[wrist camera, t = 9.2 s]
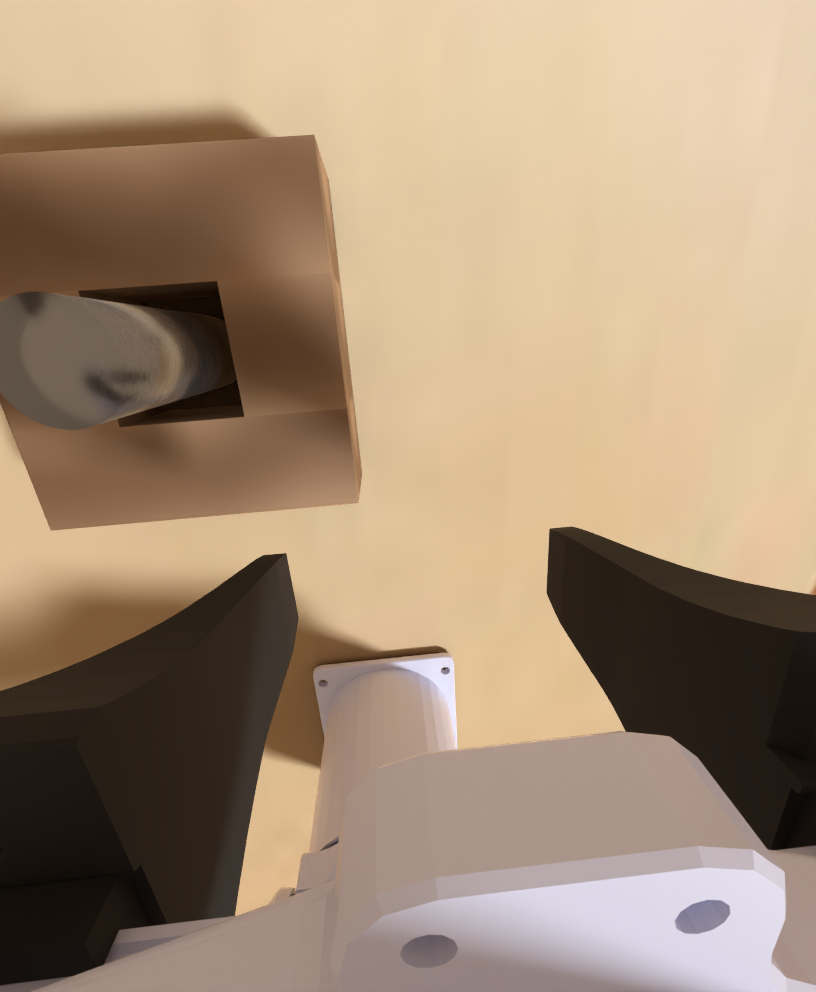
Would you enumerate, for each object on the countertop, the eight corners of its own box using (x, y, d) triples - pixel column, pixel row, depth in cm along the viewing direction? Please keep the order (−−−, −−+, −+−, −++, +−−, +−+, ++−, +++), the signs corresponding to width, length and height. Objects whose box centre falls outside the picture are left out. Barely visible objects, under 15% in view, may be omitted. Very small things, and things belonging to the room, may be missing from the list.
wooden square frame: (362, 473, 21) (358, 502, 17) (110, 495, 21) (51, 530, 17) (328, 180, 17) (314, 134, 13) (12, 200, 16) (-96, 159, 13)
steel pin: (251, 384, 19) (141, 423, 10) (183, 390, 19) (14, 435, 10) (236, 311, 18) (100, 286, 9) (164, 318, 18) (-43, 297, 9)
